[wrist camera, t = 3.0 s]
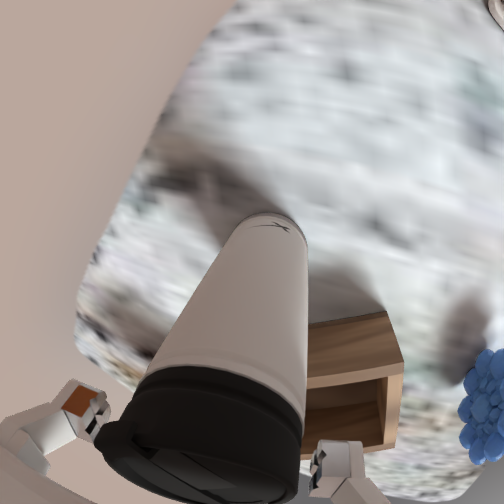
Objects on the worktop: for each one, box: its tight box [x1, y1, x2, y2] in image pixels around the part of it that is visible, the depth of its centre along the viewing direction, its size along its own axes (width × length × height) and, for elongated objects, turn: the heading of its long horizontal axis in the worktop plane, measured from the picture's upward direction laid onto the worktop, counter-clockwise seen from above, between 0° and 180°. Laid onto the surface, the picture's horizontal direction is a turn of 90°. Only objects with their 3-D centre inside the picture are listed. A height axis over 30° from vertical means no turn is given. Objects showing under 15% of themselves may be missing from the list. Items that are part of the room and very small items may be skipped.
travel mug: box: [93, 213, 308, 504], centre depth 16 cm, size 6×7×20 cm
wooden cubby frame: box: [300, 311, 404, 460], centre depth 26 cm, size 12×11×7 cm
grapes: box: [457, 349, 504, 465], centre depth 21 cm, size 12×7×12 cm, turn 178°
